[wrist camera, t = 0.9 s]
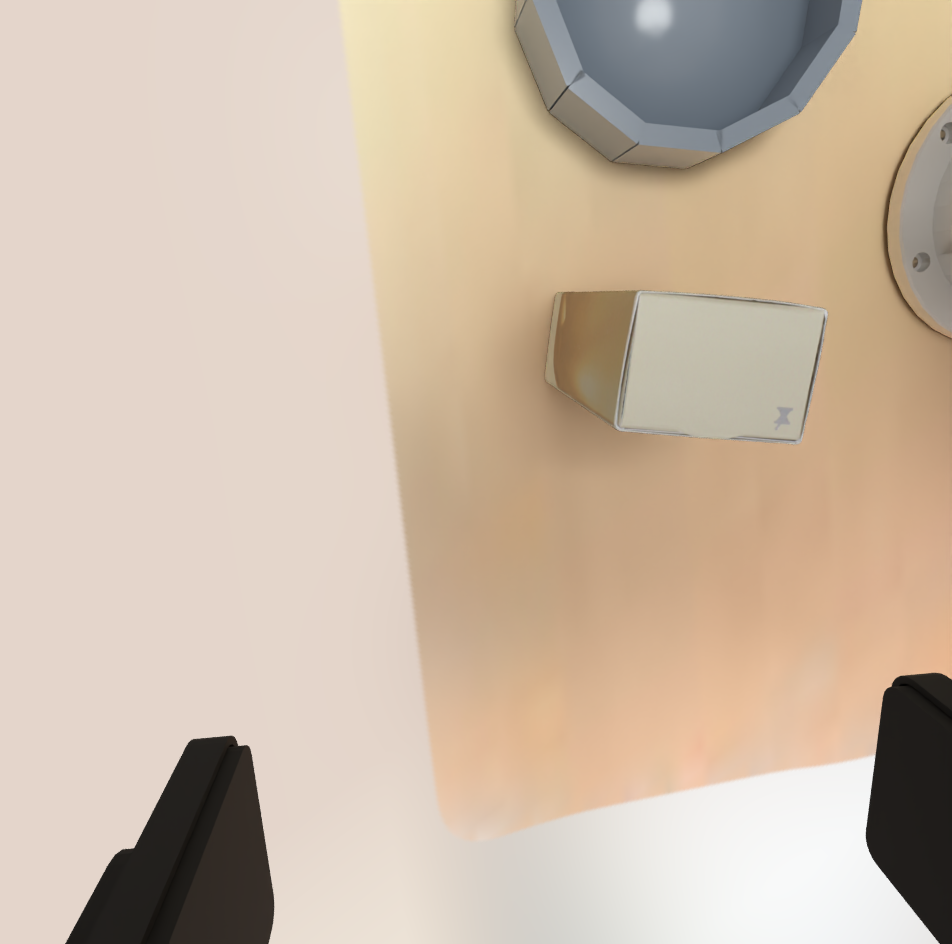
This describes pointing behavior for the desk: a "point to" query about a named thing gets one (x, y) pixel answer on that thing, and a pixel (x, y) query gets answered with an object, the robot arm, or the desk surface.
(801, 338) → the skincare box
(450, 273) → the desk surface
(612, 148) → the slate bowl
